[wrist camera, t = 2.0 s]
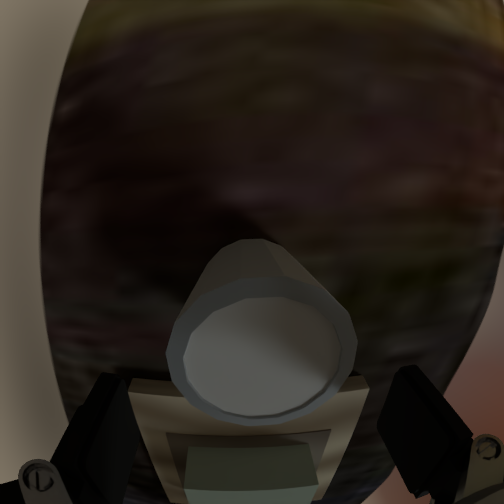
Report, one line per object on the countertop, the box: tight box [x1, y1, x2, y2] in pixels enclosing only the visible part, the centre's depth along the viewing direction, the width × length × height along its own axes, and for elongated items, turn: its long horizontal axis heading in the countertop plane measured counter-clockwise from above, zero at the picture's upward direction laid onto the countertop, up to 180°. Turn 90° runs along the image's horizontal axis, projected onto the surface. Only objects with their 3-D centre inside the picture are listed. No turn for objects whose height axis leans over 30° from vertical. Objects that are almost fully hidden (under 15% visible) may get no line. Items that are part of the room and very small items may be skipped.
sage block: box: [184, 444, 319, 504], centre depth 18 cm, size 9×9×4 cm
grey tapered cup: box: [166, 239, 358, 426], centre depth 13 cm, size 7×7×7 cm
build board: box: [128, 375, 369, 504], centre depth 20 cm, size 18×16×2 cm
